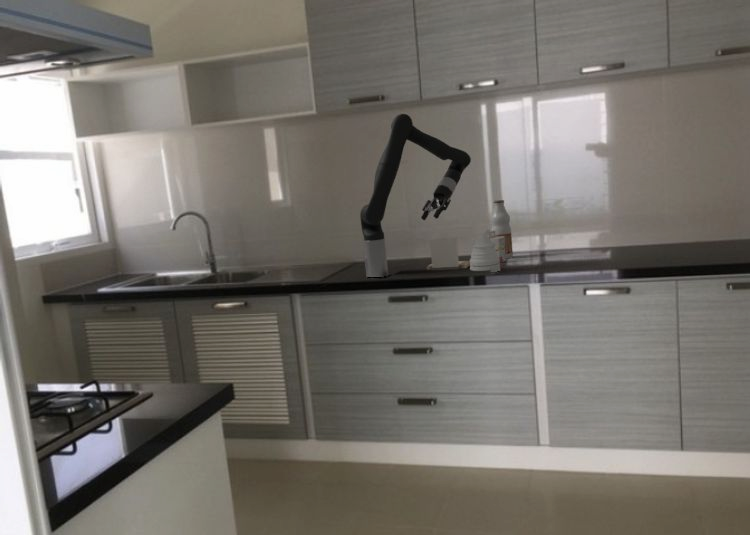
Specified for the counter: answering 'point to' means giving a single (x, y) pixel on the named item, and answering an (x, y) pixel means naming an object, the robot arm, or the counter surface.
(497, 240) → the ink cartridge box
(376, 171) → the robot arm
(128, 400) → the counter surface
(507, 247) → the fruit juice
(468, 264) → the bed
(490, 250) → the honey pot
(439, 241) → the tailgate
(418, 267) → the counter surface
